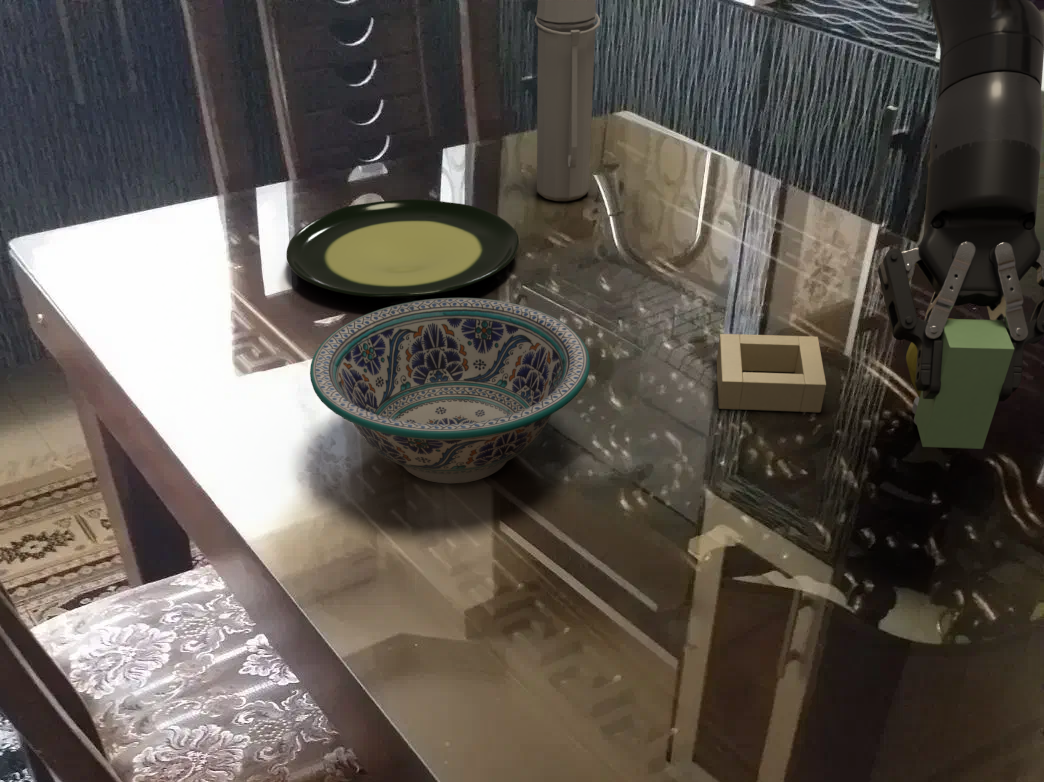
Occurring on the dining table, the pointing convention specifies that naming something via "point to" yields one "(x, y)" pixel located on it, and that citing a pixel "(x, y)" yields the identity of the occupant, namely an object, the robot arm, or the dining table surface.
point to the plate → (402, 248)
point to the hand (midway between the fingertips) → (966, 396)
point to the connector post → (966, 384)
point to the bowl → (450, 382)
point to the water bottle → (565, 96)
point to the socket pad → (770, 388)
